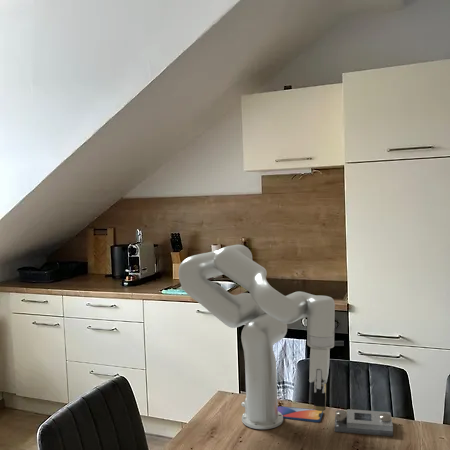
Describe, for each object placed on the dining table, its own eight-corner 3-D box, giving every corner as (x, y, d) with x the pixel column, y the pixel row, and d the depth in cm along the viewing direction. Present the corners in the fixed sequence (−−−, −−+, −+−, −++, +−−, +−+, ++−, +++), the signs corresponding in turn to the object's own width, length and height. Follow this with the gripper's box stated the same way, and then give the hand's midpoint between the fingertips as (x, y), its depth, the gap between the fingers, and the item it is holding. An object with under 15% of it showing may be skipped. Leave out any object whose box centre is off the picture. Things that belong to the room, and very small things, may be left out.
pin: (311, 407, 141) (312, 373, 141) (319, 404, 143) (320, 371, 142) (320, 411, 139) (320, 377, 138) (327, 408, 141) (328, 374, 140)
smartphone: (277, 408, 160) (276, 405, 160) (323, 413, 155) (323, 410, 155) (271, 418, 154) (271, 415, 153) (319, 423, 148) (319, 420, 148)
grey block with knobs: (334, 431, 143) (334, 418, 142) (335, 417, 151) (335, 405, 151) (392, 436, 139) (392, 423, 138) (390, 422, 147) (390, 409, 147)
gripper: (309, 330, 148) (309, 390, 150) (304, 348, 133) (303, 414, 134) (335, 332, 146) (334, 392, 148) (333, 350, 131) (332, 417, 132)
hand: (319, 402), depth 141 cm, fingers closed on pin, 3 cm apart
